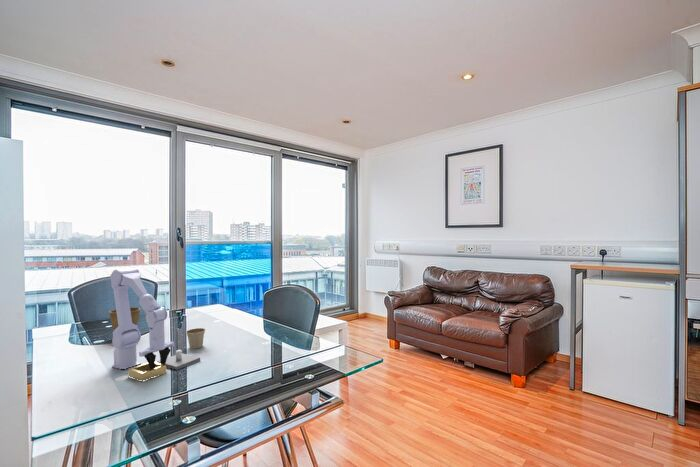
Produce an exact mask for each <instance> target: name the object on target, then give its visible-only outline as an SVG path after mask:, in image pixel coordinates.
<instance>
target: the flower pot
mask: <svg viewBox="0 0 700 467" xmlns="http://www.w3.org/2000/svg"><path fill="white" fill-rule="evenodd" d="M205 331H206V328H204V327H200V328H199V327H197V328H192V329H187V330H186V331H185V334H186V336H187V339H188V344H189V349H192V350H195V349H200V348H202V347H203V346H204V338H205V333H206V332H205Z"/></svg>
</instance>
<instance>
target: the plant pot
mask: <svg viewBox="0 0 700 467" xmlns="http://www.w3.org/2000/svg"><path fill="white" fill-rule="evenodd" d="M130 311H131V318H132V323H133V324H135V325H137V326H138V322H139V316H140V312H141V308H140V307H135V306H134V307H133V306H131V307H130ZM109 318H110V321H111V326H112V328H113V331H114V330H115V329H116V328H117V327H118V319H117V312H116V308H115V309H112V310H110V311H109ZM128 331H130V330H128ZM124 332H127V331H124Z"/></svg>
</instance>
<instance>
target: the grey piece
mask: <svg viewBox="0 0 700 467" xmlns="http://www.w3.org/2000/svg"><path fill="white" fill-rule="evenodd" d="M182 352H183V351H182V349H178V350H175V354H174V355H172V356H168V357H167V360H166V364H165V365H166V368H167V367H169V368H168V369H171V368H172V369H171V370H174V369H175V370H174V371H179V370H181V369H183V368H186V367H188V366H191V365H193V364H196V363H199V362H201V357H199V356H194V355H191V354H187V353H184V352H183V353H182ZM156 362H157V363H160V360H158V361H156Z"/></svg>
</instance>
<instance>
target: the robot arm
mask: <svg viewBox="0 0 700 467" xmlns="http://www.w3.org/2000/svg"><path fill="white" fill-rule="evenodd" d="M109 277H110V284H111V289H113V296H114V304H115V309H116V312H117V319H118V327H117V328H116V329H115V330H114V329H113V331H112V340H111V342H112V345H113V346H114V350H113V364H112V365H111V367H113V368H115V369H118V368H119V370H121V369H125V370H127V369H126V368H128V367H131V368H133V367H132V366H134V367H136V366H135V365H137V366H139V364H140V365H142V363H141V362H139V361H138V359H137V357H140V358H142V357H144V359H146V361H147V363H148V364H149V367H150V370H151V369H153V368H155V362H156V357H157V355H156V354H154V353H156V352H158V354H159V359H160V360H159V361H160V363H161V364H164V365H165V364H166V360H167V358H168V357H169V355H170V353H171V348H174V347H175V342H174V341H169V342H166V341H165V338H166V336H165V320H166V319H167V318H168V311H167V309H166V308H165V307H164V306H162V305H159V303H158V302H157V300H156V299H155V297H154V296H153V294H150V293H148V291H147V290H146V288H145V286H144V284H143V282H142V280H141V278H142V274H141V273H140V271H139V269H138V268H137V267H132V268H131V267H130V268H123V269H115V270H112V272H111V274H110V276H109ZM129 288H131V290H132V291H133V292H134V293H135V294H136V296H137V297H138V298H139V301H138V304H139V305H140V307H141V308H142V309H143V311H144V313H145V316H144V317H145V320H146V323H147V327H148V331H149V333H148V334H149V339H148V340H149V347H147V348H145V349H142V350H140V351H139V352H138V356H137V345H139V342H140V340H141V338H142V335H141V331H140V329H139V327H138V324H137V325H135V324H133V323H132V318H131V311H130V308H131V306H130V298H129V293H128V292H129V291H128V290H129ZM128 330H130V331H128ZM124 331H127V332H124ZM128 369H129V368H128Z"/></svg>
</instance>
